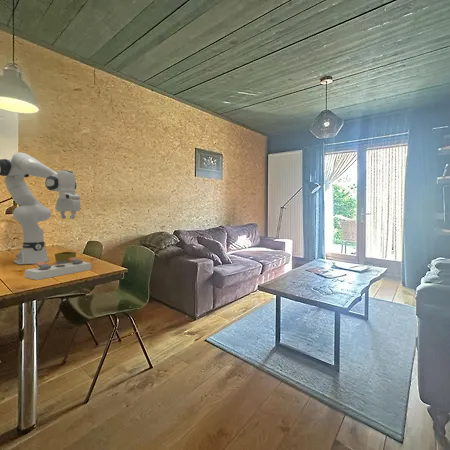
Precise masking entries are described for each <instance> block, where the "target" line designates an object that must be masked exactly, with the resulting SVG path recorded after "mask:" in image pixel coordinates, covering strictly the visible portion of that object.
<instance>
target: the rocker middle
mask: <svg viewBox="0 0 450 450" xmlns="http://www.w3.org/2000/svg"><path fill="white" fill-rule="evenodd" d="M67 262H68V261H67V260H66V261H60V262H56V261H55V262H52V266H53V265H58V264H63V263H67Z"/></svg>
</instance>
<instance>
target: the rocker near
mask: <svg viewBox="0 0 450 450" xmlns="http://www.w3.org/2000/svg"><path fill="white" fill-rule="evenodd" d="M34 265H35V266H36V267H37V268H41V269H49V268H51V266H52V265H50V264H48V263H47V262H37V263H35V264H34Z"/></svg>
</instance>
